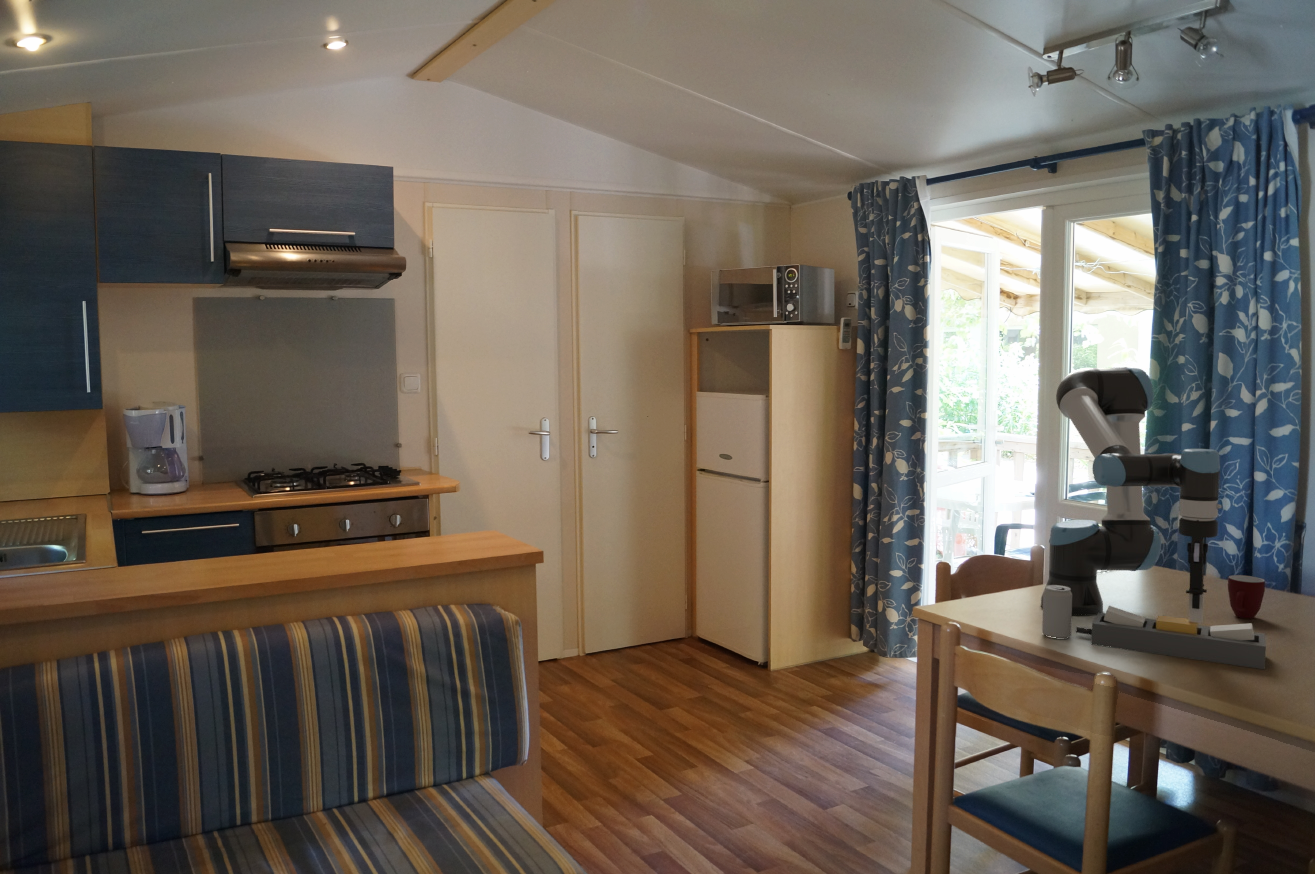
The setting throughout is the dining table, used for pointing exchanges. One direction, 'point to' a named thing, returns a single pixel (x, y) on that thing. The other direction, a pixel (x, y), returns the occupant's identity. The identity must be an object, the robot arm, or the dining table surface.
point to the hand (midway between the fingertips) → (1195, 621)
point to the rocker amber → (1176, 624)
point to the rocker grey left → (1123, 617)
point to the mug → (1245, 595)
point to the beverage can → (1057, 611)
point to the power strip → (1178, 642)
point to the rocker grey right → (1233, 631)
